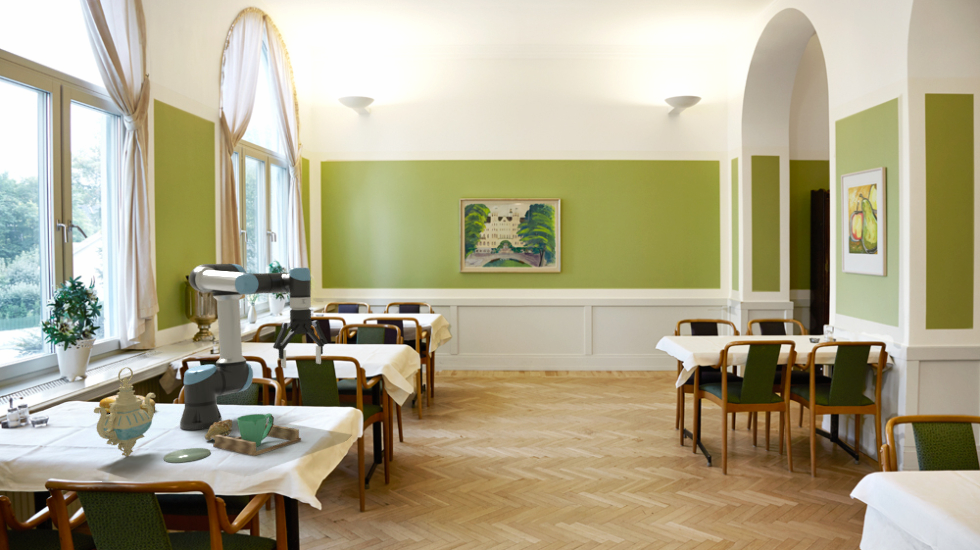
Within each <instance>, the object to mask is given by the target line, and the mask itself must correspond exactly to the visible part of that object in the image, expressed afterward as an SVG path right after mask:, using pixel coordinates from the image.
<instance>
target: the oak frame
mask: <svg viewBox="0 0 980 550" xmlns="http://www.w3.org/2000/svg"><path fill="white" fill-rule="evenodd" d="M267 425H268V423H266V426H265V429H266V427H267ZM266 437H271V438H277V439H280V440H286V441H284V442H282V443H279V444H278V443H277V444H275V445H271V446H268V447H265V448H262V449H259V450H257V447H256V442H251V441H247V440H242V438H241V435H240V436H235V437H230V436H222V435H216V436H215V440H214V443H213V448H218V449H222V450H225V451H226V450H227V451H231V452H236V453H240V454H244V455H249V456H253V457H255V456H258V455H262V454H264V453H268V452H270V451H273V450H276V449H280V448H283V447H286V446H289V445H292V444H295V443H298V442H301V441H302V438H301V437H300V429H298V428H293V427H289V426H281V425H275V424H273V427H272V429H271V430H270V432H269V434H268V435H267V436H266Z"/></svg>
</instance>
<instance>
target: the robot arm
mask: <svg viewBox="0 0 980 550" xmlns="http://www.w3.org/2000/svg"><path fill="white" fill-rule="evenodd" d="M311 280H312V278H311V271H310V268H309V267H290V268H289V272H280V271H279V272H272V273H271V272H268V273H267V272H265V273H259V272H258V273H253V272H251V273H250V272H247V271H246V270H245V268H244V267H243V266H242V265H240V264H236V263H214V264H213V263H212V264H211V263H206V264H200V265H197V266H195V267H194V268H193V269H192V270H191V271H190V274H189V275H188V283H189V284H190V287H192V288H193V289H194V290H195V291H198V292H199V293H200V292H202V293H212V298H214V299H215V300H216V303H217V305H216V307H217V325H218V327H217V328H218V343H219V345H218V346H219V347H218V348H219V359H217V361H216V362H215V364H204V365H202V364H201V365H197V366H194V367H191V368H188V369H186V371H185V372H184V374H183V375H184V377H183V386H184V388H183V389H184V390H183V392H184V409H183V412H182V414H181V419H180V421H179V427H180V429H182V430H190V431H191V430H193V431H194V430H204V429H210V426H211V425H213V424H214V423H215V422H219V421H223V417H222V415H221V412H220V410H219V407H218V404H217V403H218V402H217V401H218V400H217V397H218V396H224V395H229V394H233V393H234V394H237V393H239V392H244V391H246V390H247V389H248V388H250V386H251V385H252V383H253V379H254V371H253V368H252V366H251V364H250V363H248V362H247V359H246V358H245V357H244V356H243V351H242V350H243V349H242V348H243V347H242V346H243V345H242V327H241V326H242V325H241V311H240V309H241V308H240V299H241V298H242V297H243V295H249V296H250V295H257V294H280V293H283V294H286V293H289V309H290V310H289V319H290V322H282V323H281V328H280V331H279V332H278V335H277V338H276V340H275V342H274V344H273V346H272V347H273V349H276V350H278V359H279V360H280V363H281V364H280V366H281V368H283V369H287V350H286V349H285V348H286V347H287V345H289V343H290V342H291V340H292V339H293V337H295V336H296V335H301V334H305V335H306V334H308V336H309V337H310V338H311V339H312V340H313V342H314V343H316V345H315V364H317V365H318V364H319V365H321V364H322V355H323V353H324V348H323V347H324V346H325V345H328V340H327V338H326V336H325V334H324V332H323V329H322V328H321V325H320V321H319V320H317V319H316V320H313V321H312V310H311V307H312V297H311V295H312V293H311V292H312V289H311V287H312V286H311V285H312V283H311ZM311 327H313V328H314V330H315V332H316V333H317V335H316V334H315V333H314V330H312V328H311ZM289 328H290V330H289V331H288V329H289ZM287 331H288V333H287ZM286 333H287V335H286ZM285 335H286V336H285ZM284 337H285V338H284Z"/></svg>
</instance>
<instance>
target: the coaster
mask: <svg viewBox="0 0 980 550" xmlns="http://www.w3.org/2000/svg"><path fill="white" fill-rule="evenodd" d="M210 455H211V449H208V448H204V447H195V448H194V447H193V448H192V447H191V448H184V449H178V450H175V451H172V452H169V453H167V454H165V455H164V456H163V460H164V462H166V463H173V464H174V463H175V464H177V463H178V464H179V463H190V462H195V461H199V460H202V459H204V458H207V457H209V456H210Z"/></svg>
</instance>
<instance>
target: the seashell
mask: <svg viewBox="0 0 980 550" xmlns="http://www.w3.org/2000/svg"><path fill="white" fill-rule="evenodd" d="M232 429H233V420H232V419H230V418H229V419H222V421H219V422H215V423H214V424H213V425H211V426H210V428H208V431H207V433H205V435H204V438H205V440H206V441H211V440H213V441H215V436H216V435H222V436H227V437H229V435H230V433H231V432H232V431H233V430H232Z"/></svg>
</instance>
